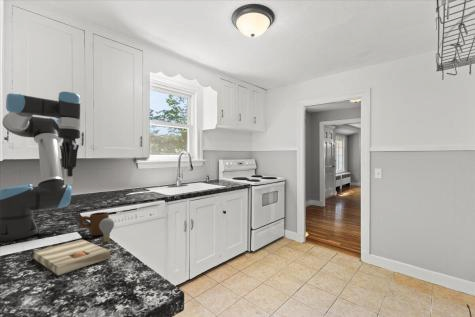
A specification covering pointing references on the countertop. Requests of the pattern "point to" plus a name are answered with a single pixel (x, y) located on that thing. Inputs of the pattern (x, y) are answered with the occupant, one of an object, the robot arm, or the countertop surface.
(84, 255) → the ball
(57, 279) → the countertop surface
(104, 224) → the light bulb
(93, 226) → the mug
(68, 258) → the wooden board with hole
